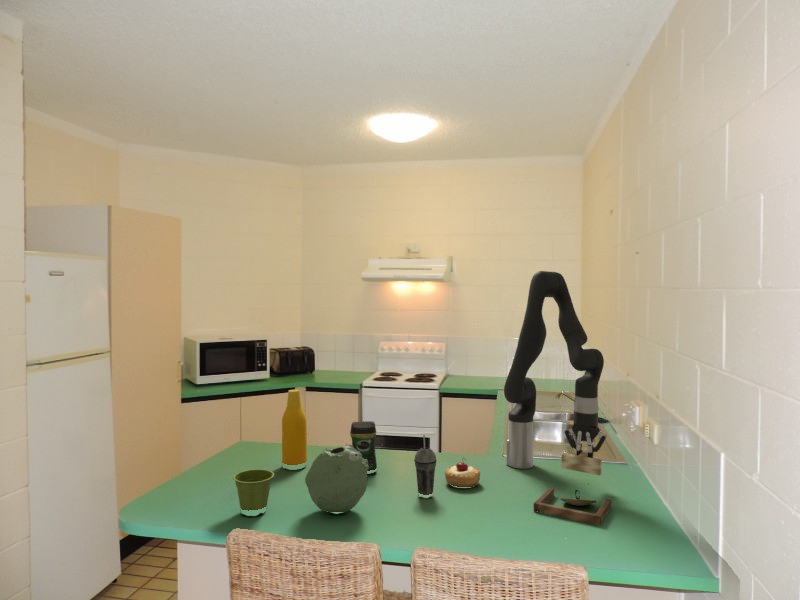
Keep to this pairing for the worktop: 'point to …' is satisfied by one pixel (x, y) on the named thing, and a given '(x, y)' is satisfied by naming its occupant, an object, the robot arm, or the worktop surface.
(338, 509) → the round grey vase
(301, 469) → the worktop surface
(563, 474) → the worktop surface
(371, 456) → the coffee jar
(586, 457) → the wooden pusher
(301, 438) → the beer bottle
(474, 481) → the pastry
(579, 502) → the lid
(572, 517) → the walnut bay
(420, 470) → the beverage cup
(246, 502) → the plant pot
